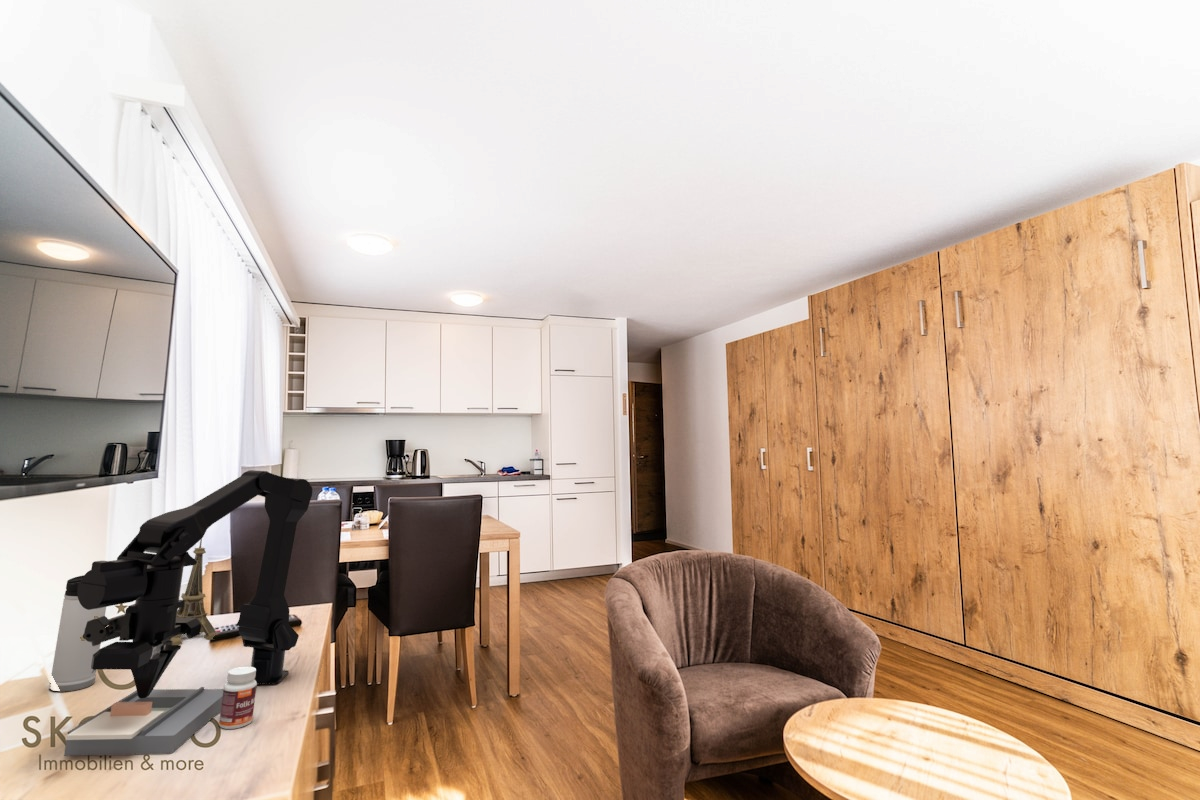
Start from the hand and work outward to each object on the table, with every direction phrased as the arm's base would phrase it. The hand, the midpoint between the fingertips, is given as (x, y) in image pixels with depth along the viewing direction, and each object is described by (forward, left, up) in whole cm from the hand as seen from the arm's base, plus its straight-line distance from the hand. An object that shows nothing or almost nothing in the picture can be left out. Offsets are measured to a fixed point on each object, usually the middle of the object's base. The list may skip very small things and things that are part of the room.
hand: (143, 697), depth 92 cm
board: (-1, +2, -5) cm, 5 cm away
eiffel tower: (-50, -17, -5) cm, 53 cm away
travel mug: (-19, -21, -5) cm, 29 cm away
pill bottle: (-2, +14, -5) cm, 14 cm away
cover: (+6, 0, -2) cm, 6 cm away
